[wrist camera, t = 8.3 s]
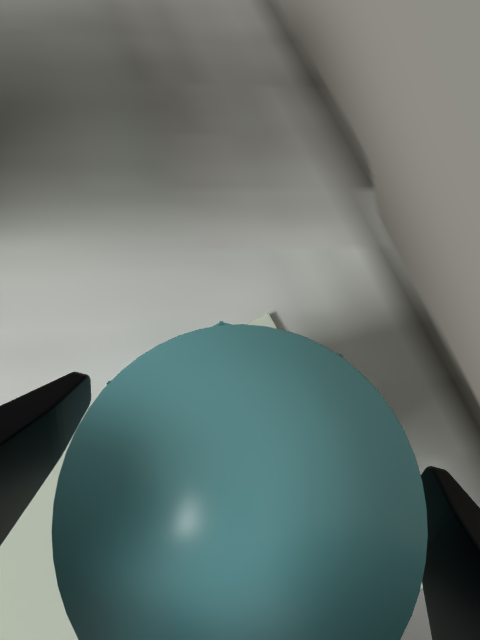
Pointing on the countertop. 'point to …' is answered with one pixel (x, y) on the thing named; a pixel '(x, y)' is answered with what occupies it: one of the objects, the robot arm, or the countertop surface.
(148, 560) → the teal rounded cylinder
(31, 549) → the sage mat
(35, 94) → the countertop surface
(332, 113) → the countertop surface
